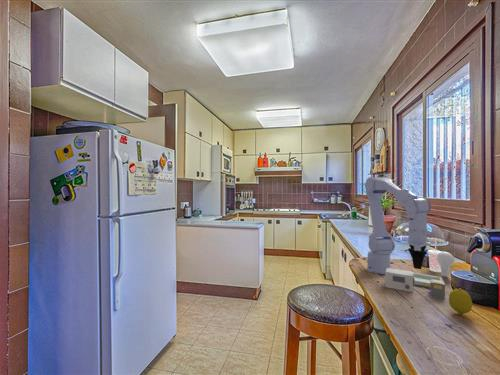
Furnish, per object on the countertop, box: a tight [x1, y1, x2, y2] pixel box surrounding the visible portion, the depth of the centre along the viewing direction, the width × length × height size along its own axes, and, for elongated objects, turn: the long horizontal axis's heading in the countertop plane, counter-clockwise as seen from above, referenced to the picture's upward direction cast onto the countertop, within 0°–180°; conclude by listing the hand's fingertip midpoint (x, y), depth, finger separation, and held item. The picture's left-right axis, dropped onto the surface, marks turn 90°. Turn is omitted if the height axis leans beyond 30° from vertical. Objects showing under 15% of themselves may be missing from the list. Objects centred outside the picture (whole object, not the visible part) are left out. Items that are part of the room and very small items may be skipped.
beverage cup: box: [427, 240, 443, 273], centre depth 118 cm, size 6×6×14 cm
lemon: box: [448, 287, 473, 315], centre depth 77 cm, size 6×6×8 cm
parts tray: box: [413, 272, 444, 289], centre depth 102 cm, size 11×11×2 cm
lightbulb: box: [437, 251, 455, 278], centre depth 109 cm, size 6×6×11 cm
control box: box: [385, 267, 415, 293], centre depth 98 cm, size 10×6×6 cm
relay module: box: [429, 279, 446, 300], centre depth 91 cm, size 4×4×5 cm
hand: (417, 265), depth 95 cm, fingers open, 7 cm apart
